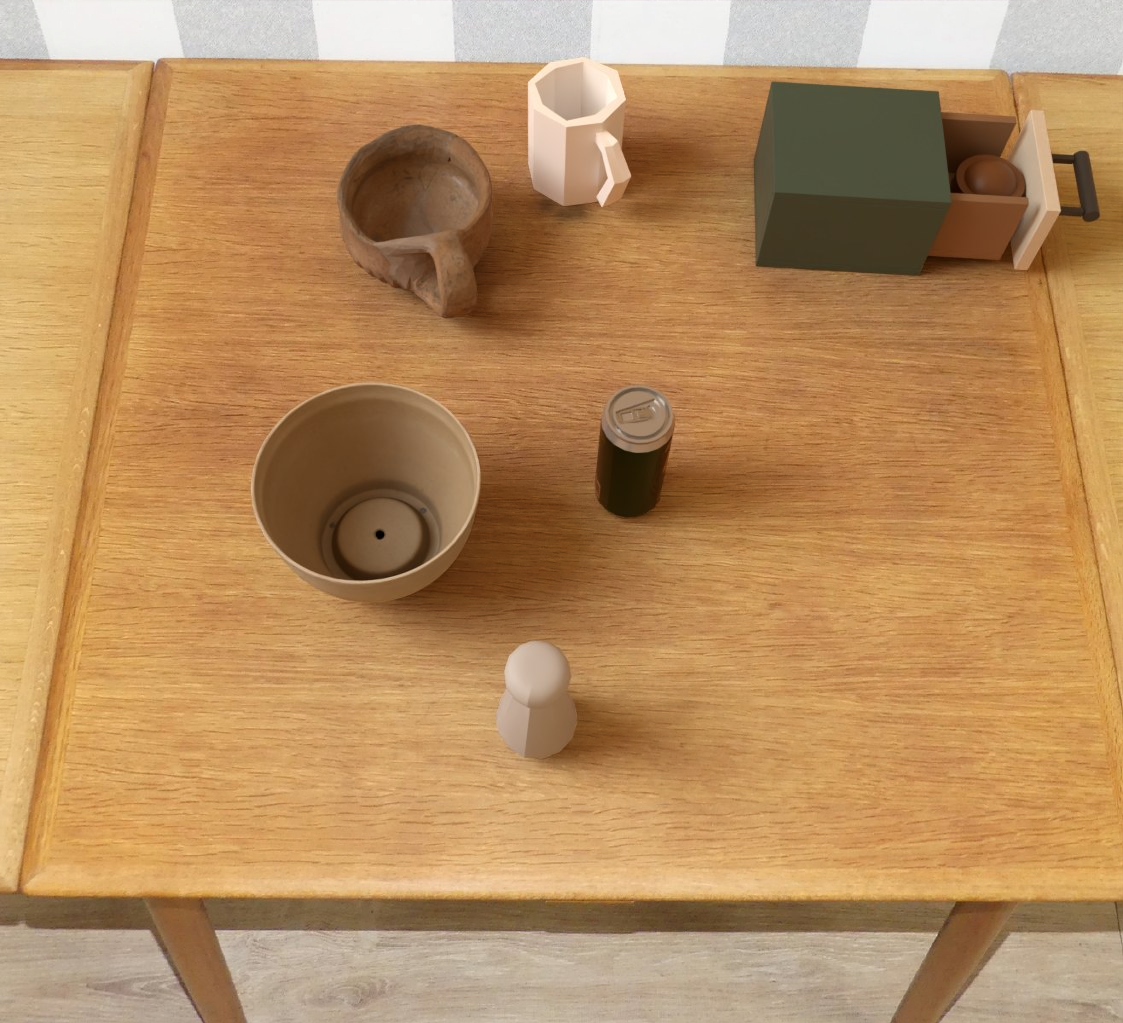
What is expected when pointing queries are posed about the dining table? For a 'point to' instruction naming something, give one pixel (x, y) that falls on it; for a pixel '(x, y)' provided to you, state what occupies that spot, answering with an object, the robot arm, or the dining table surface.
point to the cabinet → (849, 178)
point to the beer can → (633, 450)
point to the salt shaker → (536, 701)
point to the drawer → (997, 220)
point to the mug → (577, 133)
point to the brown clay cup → (419, 214)
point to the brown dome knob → (988, 177)
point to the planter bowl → (367, 490)
